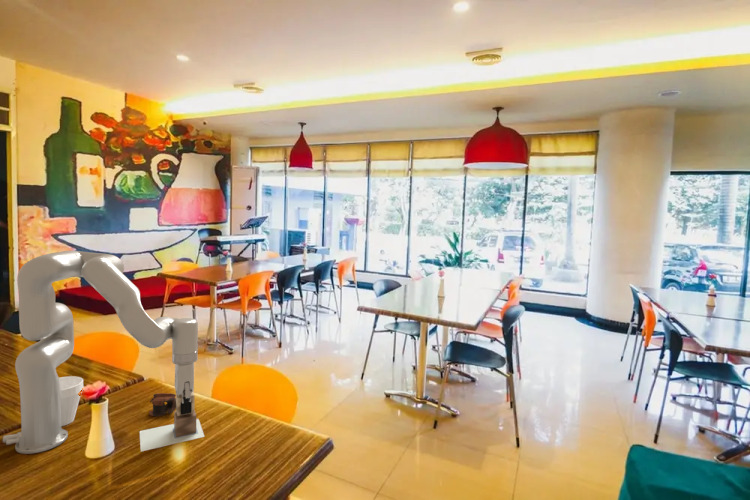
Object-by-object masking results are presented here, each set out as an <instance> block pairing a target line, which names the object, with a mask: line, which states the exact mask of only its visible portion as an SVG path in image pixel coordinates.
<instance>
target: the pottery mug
mask: <svg viewBox="0 0 750 500" xmlns="http://www.w3.org/2000/svg"><path fill="white" fill-rule="evenodd" d="M149 403H150V404H151V405H152V410H150V411H149V412H148V414H149V416H152V417H162V416H166V415H167V414H168V415H170V414H172V413H173V412H174V411H176V393H171V392H168V393H167V392H165V393H164V392H161V393H154V394H153V398H151V399H150V401H149Z"/></svg>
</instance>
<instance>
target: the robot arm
mask: <svg viewBox="0 0 750 500" xmlns="http://www.w3.org/2000/svg"><path fill="white" fill-rule="evenodd" d="M124 271H125V264H124V262H123V261H122V259H121V258H119V257H118V256H116V255H113V254H109V253H98V252H90V251H82V250H81V251H80V250H64V251H59V252H58V251H57V252H51V253H46V254H43V255H40V256H35V257H33V258H31V259H30V260H28V261H27V262H25V263H24V264H23V265H22V266H21V268H19V271H18V274H17V279H16V281H17V290H18V317H19V318H18V319H19V321H18V322H19V324H18V325H19V331H20V334H21V336H22V337H23V338H24V339H25V340H27V341H31V342H32V341H34V342H35V341H37V342H36V343H33V344H32V345H29V346H27V347H26V348H24V349H23V350H22V351H21V352H20V353H19V355H17V357H16V360H15V363H14V367H15V372H16V375H17V379H18V384H19V397H20V421H21V422H20V423H21V424H20V425H21V431H18V432H17V433H13V434H7V435H4V436H2V443H3V444H4V443H5V445H6V446H9V445H13V444H15V446H14V447H15V451H16V453H19V454H24V455H28V454H29V455H30V454H31V455H32V454H37V453H43V452H46V451H48V450H51V449H53V448H56V447H58V446H60V445H61V444H62V443H64V442H65V441H66V440H67V439H68V437H69V434H68V433H69V432H68V430H66V429H64V428H62V426H61V396H60V381H59V378H60V377H59V375H58V373H57V367H59V366H60V365H61V364H63V363H65V362H66V361H68V360H69V358H70V357H71V356H72V355H73V352H74V349H75V348H74V347H75V330H74V329H75V327H74V317H73V313H72V310H71V309H70V308H69V307H68V306H67V305H66V304H64V303H61V302H56V292H55V289H54V286H53V285H52V284H53V283H55V282H59V281H62V280H63V281H64V280H66V279H70V278H73V277H76V278H77V277H78V278H84V280H85V281H86V282H87V283H88V284H89V285H90V286H91V287H93V288H94V290H95V291H96V292H98V294H100V296H102V298H104V299H105V300H106V301H107V302H108V303H109V304H110V306H112V307H113V308H114V310H115V312H116V315H117V318H118V319H119V321H120V323H121V324H122V326H123V328H124V330H126V331H127V332H128V334H130V335H131V336H132V337H133V338H134V339H135V340H136V341H137V342H138V343H139V344H141V346H144V347H145V348H147V349H157V348H159V347H161V346H163V345H164V344H165V343H166V342H167V341H168V340H171V341H172V344H171V345H172V348H171V349H172V350H171V351H172V355H171V357H172V359H171V360H172V364H174V389H175V394H176V393H177V395H180V394H181V400H182V402H181V415H183V414H188V413H191V412H192V401H191V393H192V392H194V389H195V362H196V363H197V362H198V359H199V356H198V355H199V354H198V351H199V350H198V349H199V344H198V343H199V341H198V340H199V337H198V336H199V334H198V333H199V332H198V331H199V330H198V329H199V328H198V327H199V325H198V320H197V319H195V318H191V317H181V318H177V317H170V316H169V317H168V316H160V317H156V318H154V320H153V319H152V318H151V317H150V315H148V313H147V312H146V311H145V309H144V307H143V305H142V302H141V291H140V289H139V287H137V285H135V284H134V283H133V282H132V281H131V280H130V279H129V278H128V277H127V276H126V275H125V274H124ZM183 391H185V393H183ZM183 395H185V397H184V396H183Z"/></svg>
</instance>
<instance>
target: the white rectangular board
mask: <svg viewBox="0 0 750 500" xmlns="http://www.w3.org/2000/svg"><path fill="white" fill-rule="evenodd" d="M204 437H205V434H204V431H203V427H202V424H201V422H200V420H199V418H196V433H193V434H189V435H185V436H180V437H176V434H175V429H174V423H172V424H166V425H161V426H158V427H152V428H147V429H143V430H140V431H139V444H140V452H144V451H149V450H153V449H154V450H155V449H158V448H162V447H163V448H164V447H165V446H171V445H175V444H178V443H183V442H188V441H192V440H196V439H200V438H204Z"/></svg>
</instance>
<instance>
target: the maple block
mask: <svg viewBox="0 0 750 500" xmlns="http://www.w3.org/2000/svg"><path fill="white" fill-rule="evenodd" d="M183 393H185V391H183ZM175 394H176V396H175V398H176V409H175V411H176V412H177V416H181V402H182V400H181V394H180V395H177V393H176V392H175ZM183 396H184V397H185V395H183ZM191 401H192V412H191V413H194V410H195V393H194V391H193V392H192V393H191ZM191 413H188V414H191ZM183 415H186V414H183Z"/></svg>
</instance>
